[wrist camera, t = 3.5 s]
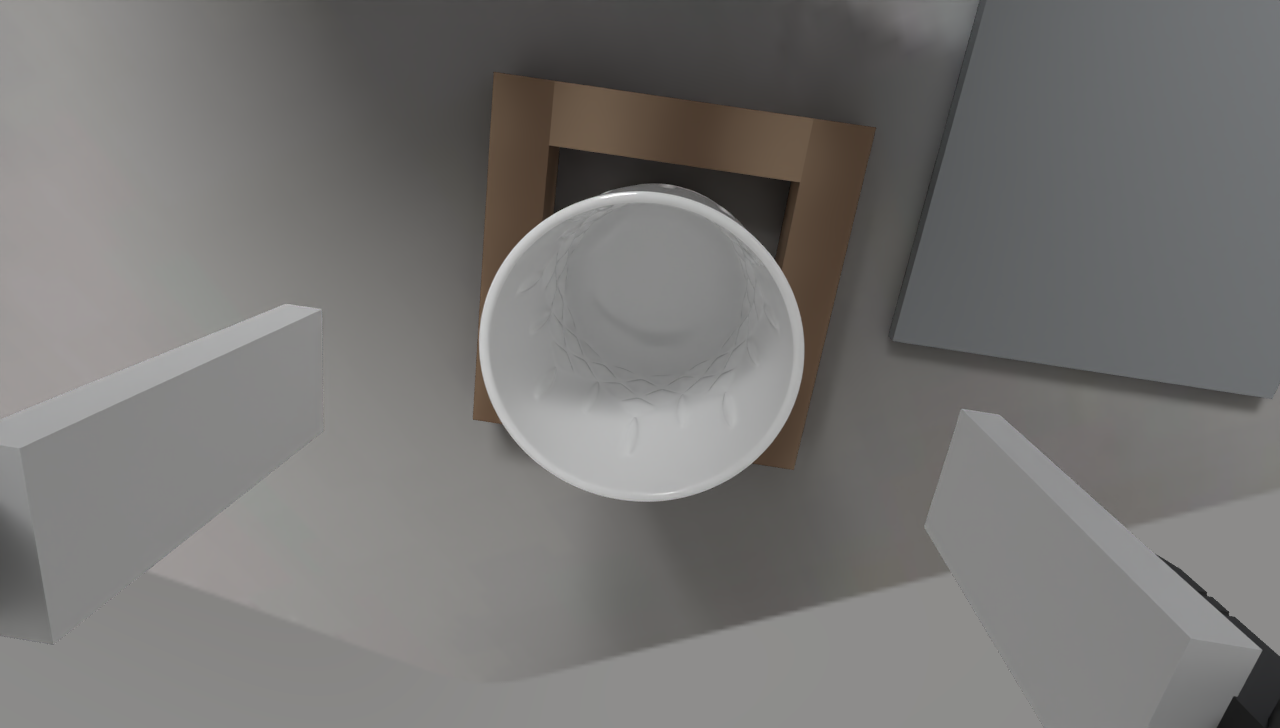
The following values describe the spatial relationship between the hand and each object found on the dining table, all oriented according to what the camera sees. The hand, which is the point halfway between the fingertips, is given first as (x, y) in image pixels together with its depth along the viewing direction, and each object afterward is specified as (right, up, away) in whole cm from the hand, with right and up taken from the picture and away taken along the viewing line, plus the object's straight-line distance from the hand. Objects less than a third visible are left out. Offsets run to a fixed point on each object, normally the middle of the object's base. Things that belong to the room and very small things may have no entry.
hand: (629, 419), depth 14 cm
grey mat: (+18, +8, +9) cm, 21 cm away
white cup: (+1, +5, +12) cm, 13 cm away
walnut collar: (+1, +4, +12) cm, 13 cm away
